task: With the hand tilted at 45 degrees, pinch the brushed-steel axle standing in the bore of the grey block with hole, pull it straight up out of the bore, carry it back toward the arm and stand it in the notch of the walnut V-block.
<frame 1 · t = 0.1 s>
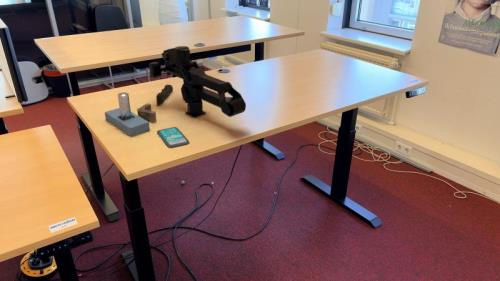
hand: (158, 62, 170), 17 cm above the table, tool horizontal, fingers open, 9 cm apart
grey block with hole: (127, 125, 150), on the table
smartphone: (173, 138, 142), on the table
v block: (153, 116, 158), on the table
hand tool: (164, 99, 176), on the table
axle: (125, 110, 147), in the grey block with hole
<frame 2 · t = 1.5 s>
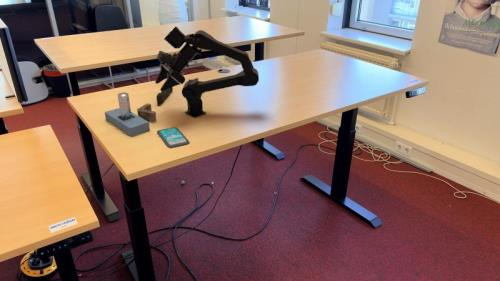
hand: (158, 86, 151), 14 cm above the table, tool tilted 45°, fingers open, 9 cm apart
nothing on the table moved.
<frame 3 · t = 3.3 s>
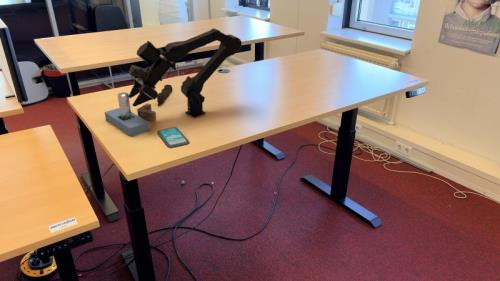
hand: (131, 101, 147), 10 cm above the table, tool tilted 45°, fingers open, 9 cm apart
nothing on the table moved.
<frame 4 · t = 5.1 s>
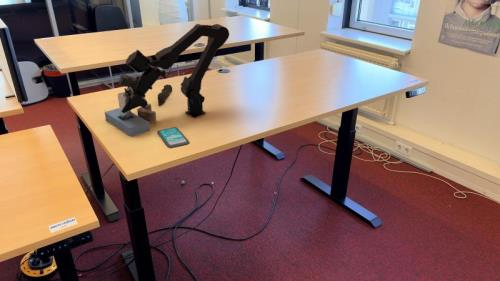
hand: (121, 110, 147), 7 cm above the table, tool tilted 45°, fingers closed on axle, 4 cm apart
axle: (125, 110, 147), in the grey block with hole, touching gripper
everything else where it was.
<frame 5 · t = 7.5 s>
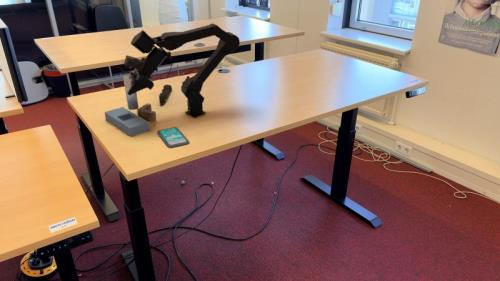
hand: (127, 92, 146), 13 cm above the table, tool tilted 45°, fingers closed on axle, 4 cm apart
axle: (131, 92, 146), point 13 cm above the table, touching gripper
everything else where it was.
when the fingers open (7 cm above the table, at t = 10.0 s): axle stays where it is, on the table.
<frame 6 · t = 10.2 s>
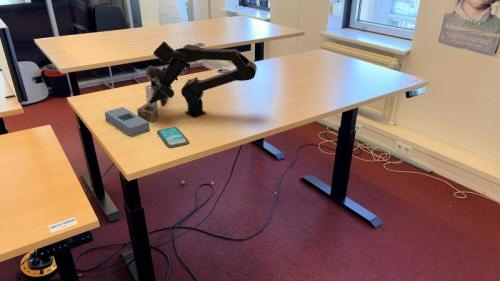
hand: (148, 100, 154), 8 cm above the table, tool tilted 45°, fingers open, 6 cm apart
axle: (152, 102, 155), on the table
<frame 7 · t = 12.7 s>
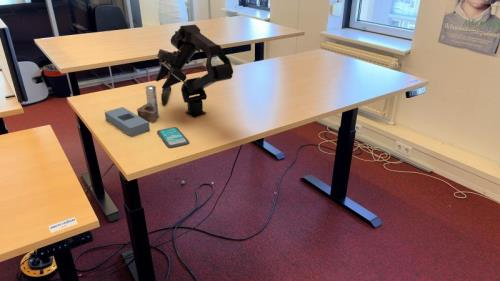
hand: (159, 84, 153), 14 cm above the table, tool tilted 45°, fingers open, 9 cm apart
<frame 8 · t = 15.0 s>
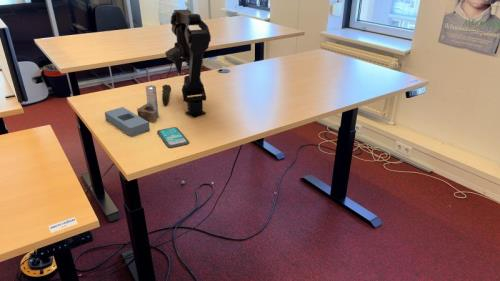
hand: (185, 75, 169), 12 cm above the table, tool pointing down, fingers open, 9 cm apart
at the end: axle 0.1 cm off-centre on the v block, point 6.5 cm above the v block's base; axle tilted 0°; the gripper is holding nothing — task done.
